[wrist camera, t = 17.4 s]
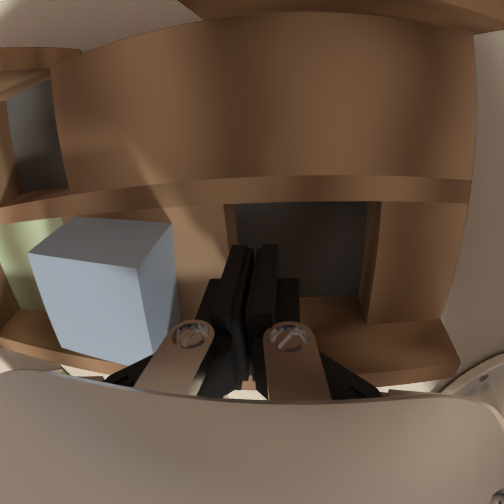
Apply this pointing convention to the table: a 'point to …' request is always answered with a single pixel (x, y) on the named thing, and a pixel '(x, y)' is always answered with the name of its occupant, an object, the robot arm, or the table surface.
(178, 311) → the slate block
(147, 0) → the table surface
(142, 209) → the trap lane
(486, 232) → the table surface
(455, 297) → the table surface
